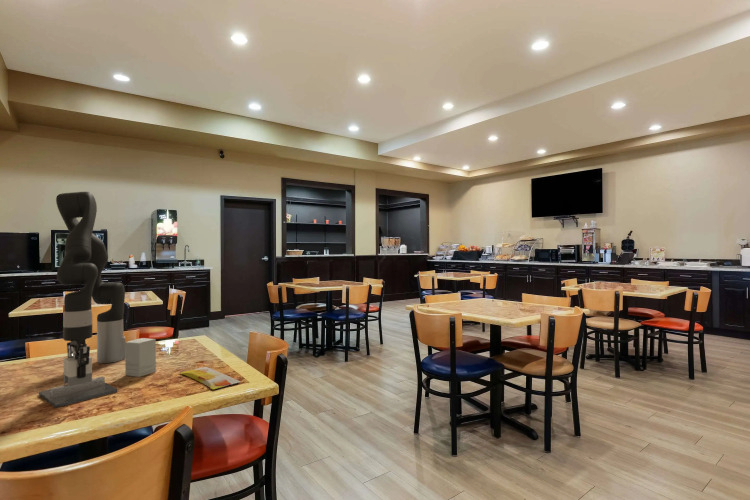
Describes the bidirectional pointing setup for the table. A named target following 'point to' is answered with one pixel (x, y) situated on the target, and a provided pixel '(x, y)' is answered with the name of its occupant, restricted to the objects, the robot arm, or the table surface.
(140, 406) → the table surface
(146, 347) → the supplement box
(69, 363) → the block
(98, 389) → the rail board
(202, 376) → the food package
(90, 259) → the robot arm
